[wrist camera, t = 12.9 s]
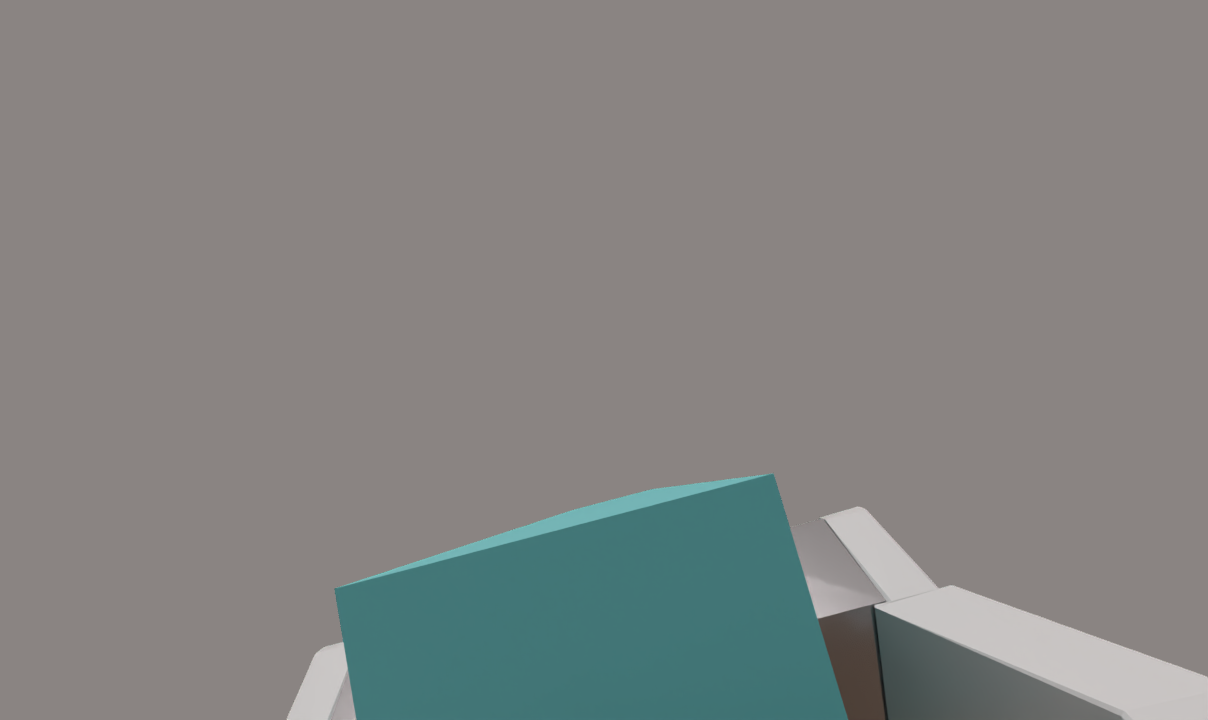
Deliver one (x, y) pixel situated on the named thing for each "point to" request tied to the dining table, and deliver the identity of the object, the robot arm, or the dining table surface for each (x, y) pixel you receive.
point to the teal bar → (601, 618)
